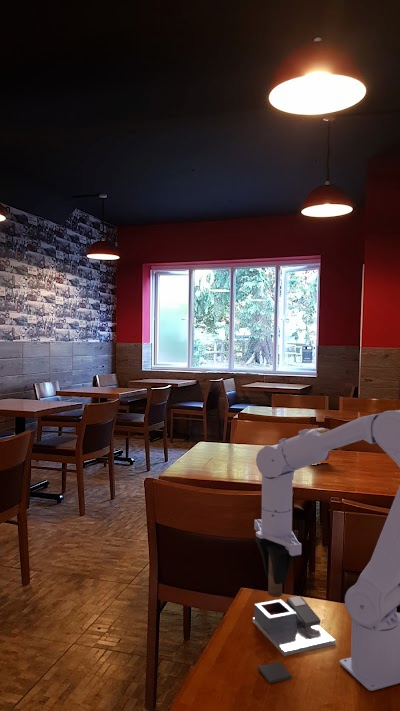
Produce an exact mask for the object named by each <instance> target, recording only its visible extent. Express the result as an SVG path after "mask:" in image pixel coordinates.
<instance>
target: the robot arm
mask: <svg viewBox="0 0 400 711" xmlns="http://www.w3.org/2000/svg"><path fill="white" fill-rule="evenodd" d="M362 440H363V441H365V442H367V443H368V444H370V445H371V444H372V445H374V444H378V446H379V447H380V448H381V449H382V450H383V451H384V452H385V453H386V455H388V456H389V458H391V460H393V461H394V463H396V464H397V466H398V468H399V469H400V409H396V410H386V411H383V412H379V413H376V414H371V415H365V416H361V417H357V419H354V420H351V421H349V422H347V423H343V424H341V425H340V426H338V427H335V428H333V429H330V431H328V432H325V433H323V434H321V433H319V432H317V431H315V430H310V431H308V428H305V429H301V430H299V431H298V435H295V436H293V437H290V438H285V437H284V438H281V439H279V440H278V443H277V444H273V445H264V446H263V447H262V448H261V449H260V450H258V452H257V454H256V457H255V458H256V459H255V462H256V464H255V465H256V467H257V469H258V471H259V472H260V474H261V519H259V518H258V519H254V522H253V523H254V525H253V526H254V527H253V528H254V529H253V530H255V531H256V532H255V536H256V538H255V540H254V541H255V543H256V545H257V547H258V549H259V552H260V554H261V558H262V563H263V567H264V568H263V569H264V573H265V575H266V578H268V575H269V555H270V558H271V562H272V569H273V579H274V583H275V584H282V585H283V584H286V582H287V578H288V575H289V572H290V568H291V565H292V563H293V560H294V559H295V557H296V556H301V555H302V543H301V542H299V541H298V539H297V537H296V534H295V533H294V531H293V480H294V475H295V474H294V473H295V472H296V471H297V470H301V469H303V468H306V467H309V466H312V464H315V463H318V462H321V461H324V460H325V459H326V457H327V455H328V452H329V453H330V451H331V450H336V449H337V448H341V447H345V446H347V445H350V444H353V443H357V442H361V441H362ZM344 605H345V609H346V611H347V613H348V615H349V616H350V618H351V636H350V637H351V643H350V644H351V645H350V657H346V658H343V659H342V658H341V659H340V660H339V664H340V665H341V666H342V667H343V668H344V669H345V670H346V671H347V672H349V673H350V674H351V675H352V676H353V678H355V679H356V680H357V681H358V682H359V683H360V684H361V685H363V686H364V687H365V688H366V690H368V691H371V692H372V691H376V690H380V689H384V688H388V687H391V686H394V685H397V684H400V612H397V610H398V609H397V607H399V606H400V485H399V487H398V489H397V492H396V494H395V496H394V499H393V502H392V504H391V506H390V510H389V512H388V515H387V517H386V519H385V522H384V525H383V528H382V530H381V532H380V534H379V538H378V540H377V543H376V546H375V548H374V550H373V553H372V556H371V558H370V560H369V562H368V563H367V565H366V566H365V567H364V569H363V570H362V572H361V573H360V575H359V576H358V579H357V581H356V583H354V585H352V586H350V587H349V588H348V589H347V591H346V593H345V595H344Z"/></svg>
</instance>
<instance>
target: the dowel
mask: <svg viewBox="0 0 400 711" xmlns="http://www.w3.org/2000/svg"><path fill="white" fill-rule="evenodd" d="M267 579H268V585H267V586H268V588H267V590H268V592H267V594H268V596H269V597H270V596H271V597H272V598H279V597H282V595H283V584H275V583H274V579H273V569H272V562H271V558H270V555H269V575H268V577H267Z"/></svg>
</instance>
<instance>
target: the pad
mask: <svg viewBox="0 0 400 711" xmlns="http://www.w3.org/2000/svg"><path fill="white" fill-rule="evenodd" d="M257 670H258V671H259V672H260V673H261V675H262V676H263V677H264V678H265V679H266V681H267V682H268V683H269V684H275V683H278V682H282V681H286V680H291V679H292V678H293V675H292V674H291V673H290V672H289V671H288V669H287V668H285V666H284V665H283V664H282V663H281V661H277V662H273V663H269V664H268V663H267V664H263V665H259V666H257Z"/></svg>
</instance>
